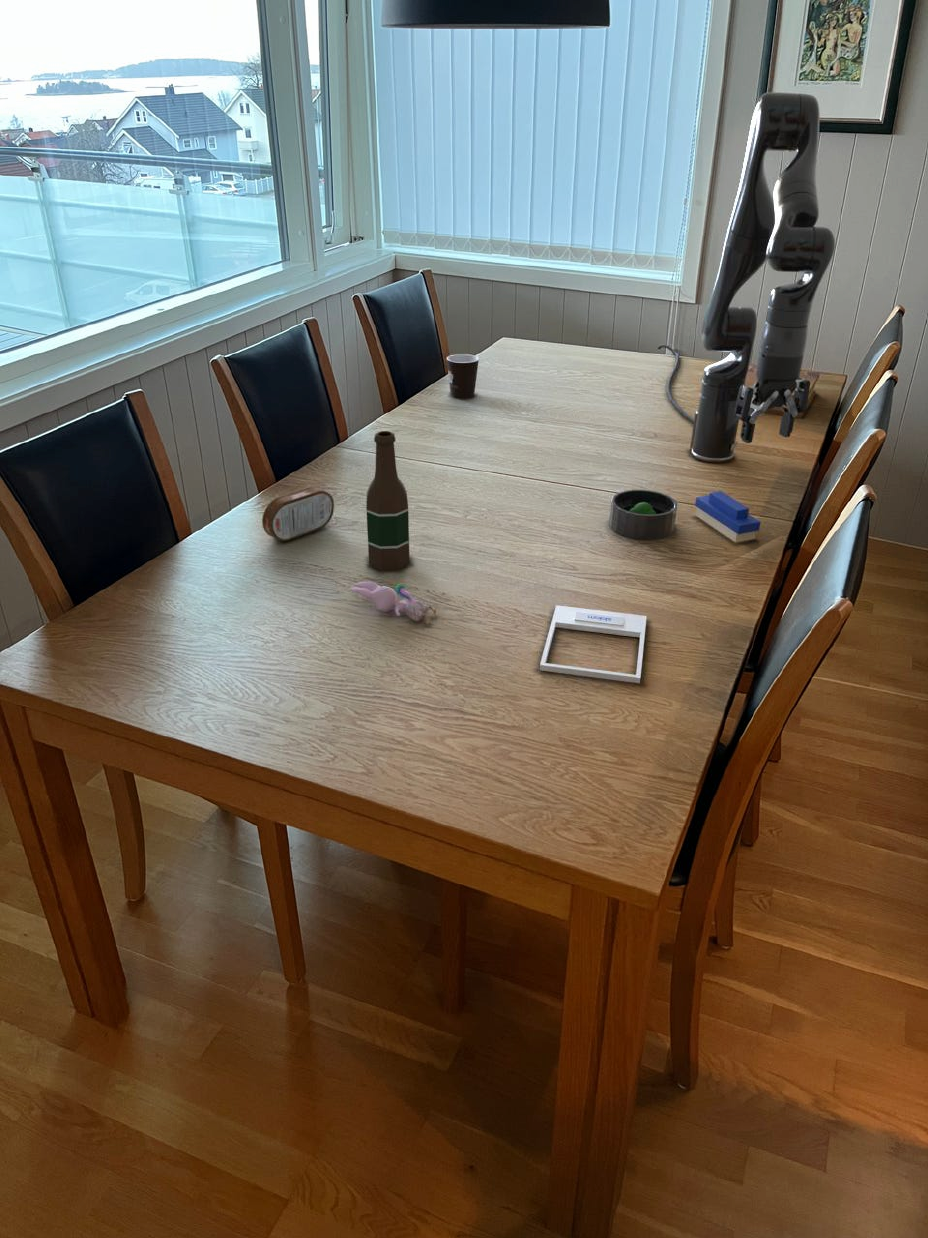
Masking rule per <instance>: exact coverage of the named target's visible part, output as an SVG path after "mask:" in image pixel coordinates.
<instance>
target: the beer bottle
mask: <svg viewBox="0 0 928 1238" xmlns="http://www.w3.org/2000/svg"><path fill="white" fill-rule="evenodd" d="M396 441H397V440H396V434H395V433H394V432H391V431H389V430H382V431H378V432H375V433H374V438H373V442H374V443H375V471H374V477H373V478H372V480H371V482H370V483H369V485H368V488H367V491H366V510H365V511H366V527H367V547H368V549H367V550H368V561H369V565H370V567H372V568H374V569H376V570H379V571H381V572H383V571H385V572H386V571H398V570H399V571H400V570H401V569H403V568H404V567H407V566H409V564H410V524H409V519H410V518H409V501H408V492H407V489H406V486H405V484H404V483H403V482H402V480H401V479H400V477H399V475H398V471H397V462H396V453H395V452H396V451H395V442H396Z"/></svg>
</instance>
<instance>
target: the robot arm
mask: <svg viewBox="0 0 928 1238" xmlns="http://www.w3.org/2000/svg"><path fill="white" fill-rule="evenodd" d="M817 99H818V98H816V96H814V95H812V94H808V93H793V92H777V91H775V92H773V91H772V92H764V93H763V94H762V95H761V96H760V97H759V98H758V100H757V103H756V105H755V108H754V112H753V114H752V120H751V124H750V129H749V130H750V131H749V135H748V141H747V146H746V152H745V156H744V162H743V168H742V173H741V178H740V183H739V186H738V191H737V195H736V198H735V202H734V206H733V210H732V213H731V217H730V221H729V223H728V228H727V232H726V237H725V241H724V246H723V251H722V255H721V259H720V265H719V268H718V273H717V277H716V281H715V284H714V287H713V290H712V294H711V296H710V299H709V302H708V306H707V309H706V312H705V315H704V317H703V318H704V319H703V323H702V327H701V334H700V335H701V336H700V338H701V339H700V340H701V345H702V348H703V349H704V350H706V351H707V352H712V353H713V352H715V353H724V352H725V353H730V354H728V356H726V357H725V358H723V359H721V360H719V361H717V362H714V363H711V364H709V365H707V366H706V367H705V368H704V370H703V374H702V380H701V386H700V392H699V393H700V394H699V401H698V407H697V408H698V409H697V410H696V411H695V413H694V418H693V417H692V416H691V415H689V414H688V413H686V411H684V410H683V409H682V408H681V406H679V405H678V404H677V402H676V401H675V400H674V398H673V396H672V394H671V385H672V384H671V383H672V380H673V378H674V376H675V374H676V371H677V369H678V366H679V362H680V354H679V353H678V352H677V351H676V350H675V349H674V348H673V347H671V346H669V345H668V344H665V343H663V344H659V346H657V350H661V349H662V348H664V349H667V350H669V351H670V352H671V353H672V354H673V355H674V356H675V363H674V366H673V368H672V371H671V373H670V374H669V376H668V379H667V382H666V395H667V398H668V400H669V402H670V403H671V404H672V406H673V407H674V408H675V409H676V410H677V412H678V413H680V414H681V415H682V417H684V418H685V419H686V420H688V421H689V422H691V423H692V424H693V425H692V433H691V439H690V448H689V451H690V452H691V453H690V455H691V456H692V457H693V458H694V459H696V460H699V461H702V462H708V463H716V464H717V463H719V464H720V463H727V462H730V461H732V460H733V458H734V454H735V453H734V451H735V449H736V448H737V446H738V440H737V441H736V439H737V433H738V428H739V422H740V421H741V422H742V424H741V429H740V435H739V436H740V439H741V441H742V442H743V443H746V444H752V442H753V439H754V434H755V427H756V421H757V419H758V418H759V417H760V415H764V413H765V411H766V409H771V408H774V407H781V408H782V410H783V412H784V413H785V415H781V420H780V425H779V426H780V427H779V431H778V434H779V436H782V437H783V438H789V437H790V436H791V434H792V433H793V430H794V425H795V419H796V418H797V417H796V416H797V415H798V414H799V413H804V412H805V413H806V411H807V409H808V407H807V401H808V395H809V389H810V381H808V380H805V379H803V378H800V377H799V376H800V371H802V366H803V361H804V356H805V351H806V345H807V341H808V330H809V323H810V318H811V312H812V307H813V302H814V299H815V296H816V294H817V292H818V289H819V286H820V284H821V282H822V280H823V278H824V276H825V274H826V272H827V270H828V268H829V266H830V264H831V262H832V260H833V257H834V255H835V251H836V238H835V234H834V233H833V231H832V230H831V229H830V228H829V227H826V226H815V225H816V224H817V222H818V220H819V217H820V207H819V198H818V190H817V189H818V188H817V163H818V152H819V140H820V139H819V137H820V116H821V115H820V105H819V101H818V100H817ZM768 151H769V152H770V151H772V152H773V151H774V152H796V154H795V156H794V157H793V159H792V160H791V161H790V162H789V164H788V165H786V167H785V168H784V169H783V170H782V172H781V173H780V174H779V176H778V178H777V180H776V182H775V184H774V189H773V195H772V193H771V190H770V187H769V184H768V181H767V177H766V173H765V157H766V153H767V152H768ZM766 262H767V263H768V266H769V267H770V268H771V269H773V271H776V272H779V273H780V272H781V273H803V275H802V276H801V277H800V278H799V279H798V280H797V281H796V282H793V283H789V284H783V285H780V286H776V287H775V288H774V289H772V290H771V293H770V296H769V300H768V306H767V312H766V319H765V323H764V326H763V329H762V333H761V338H760V343H759V349H758V350H759V351H758V355H757V362H756V365H757V366H756V376H757V381H756V383H755V385H754V386H746V385H745V381H746V376H747V373H748V369H749V368H750V363H751V359H752V353H753V349H754V345H755V342H756V337H757V330H758V315H757V312H756V310H755V309H754V308H753V307H750V306H749V307H748V306H731V304H732V301H733V299H734V297H735V296H736V295H737V293H738V291H739V290H740V289H741V288H742V287H743V286H744V285H745V284H746V283H748V281H749V280H750V279H751V278H752V277H753V276H754V275H755V274H756V273H758V271H759V270H760V269H761V268H762V267H763V265H764V264H765V263H766ZM676 358H677V359H676ZM793 392H794V397H793V398H792V396H791V395H792V393H793ZM754 394H755V395H754ZM800 400H801V402H800ZM757 403H759V404H760V406H757V405H756V404H757ZM799 403H800V404H799ZM742 408H743V409H742ZM806 408H807V409H806ZM805 413H804V414H805Z"/></svg>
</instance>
